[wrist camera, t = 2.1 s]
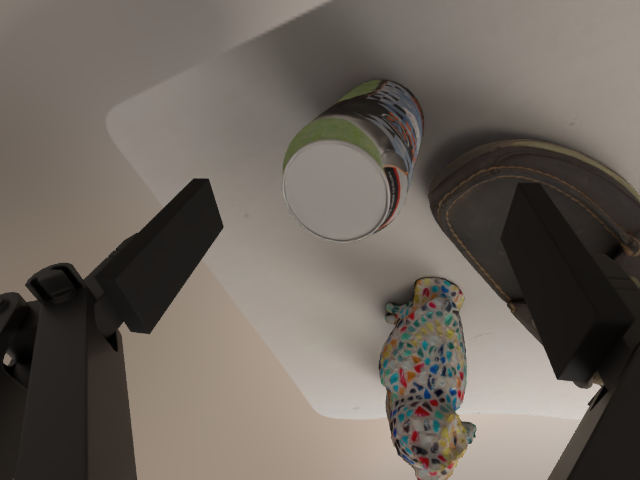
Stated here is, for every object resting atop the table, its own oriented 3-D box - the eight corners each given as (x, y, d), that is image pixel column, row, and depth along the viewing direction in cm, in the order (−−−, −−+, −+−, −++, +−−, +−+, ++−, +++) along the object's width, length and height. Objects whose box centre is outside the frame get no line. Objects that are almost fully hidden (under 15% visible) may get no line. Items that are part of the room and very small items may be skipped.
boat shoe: (511, 79, 21) (588, 149, 12) (765, 303, 27) (928, 448, 19) (394, 198, 27) (392, 295, 19) (620, 355, 33) (694, 480, 25)
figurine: (488, 320, 34) (535, 499, 22) (412, 345, 38) (418, 504, 27) (442, 268, 31) (469, 445, 19) (365, 302, 35) (350, 461, 24)
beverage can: (404, 170, 25) (408, 280, 16) (312, 145, 26) (263, 241, 16) (438, 84, 21) (469, 166, 12) (328, 56, 22) (277, 116, 12)
